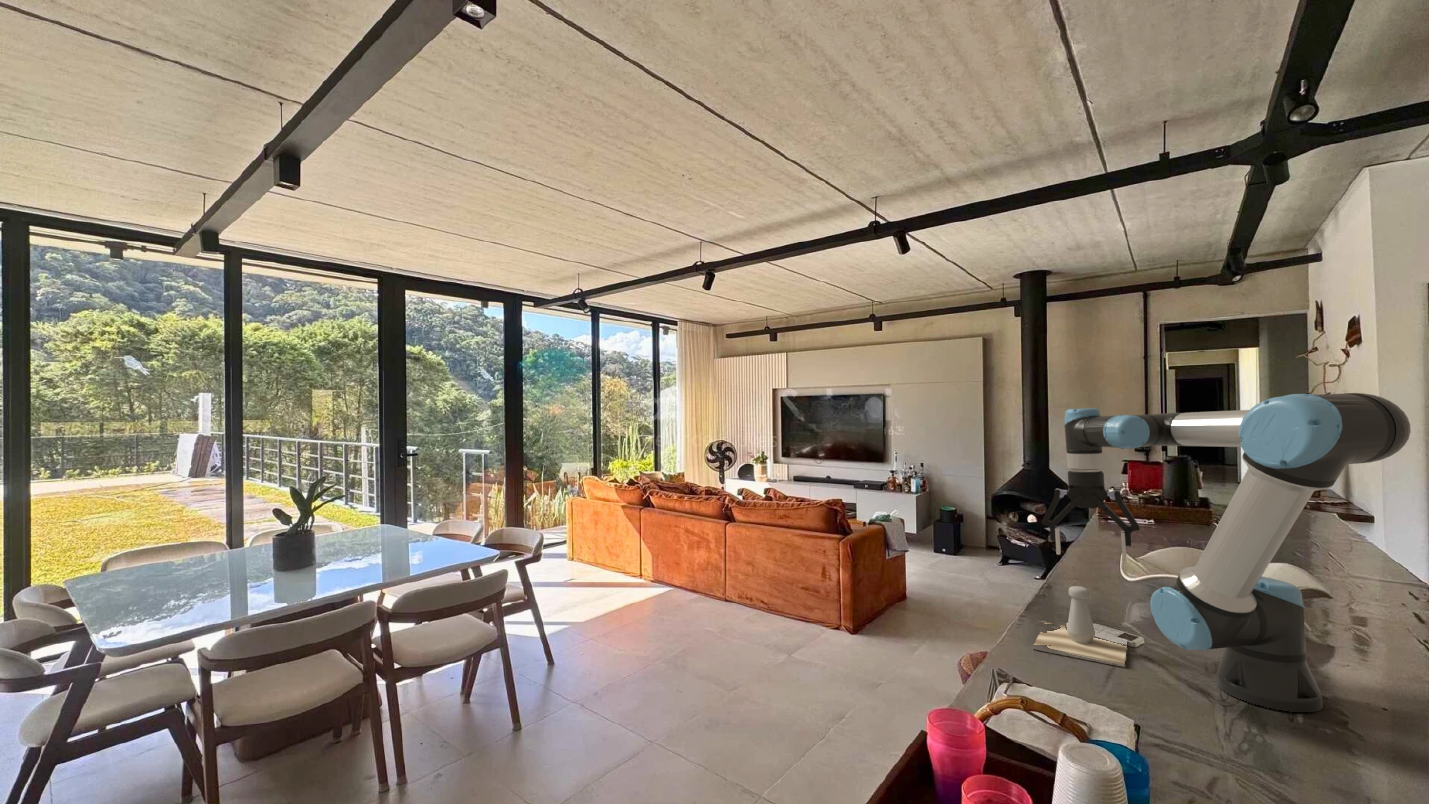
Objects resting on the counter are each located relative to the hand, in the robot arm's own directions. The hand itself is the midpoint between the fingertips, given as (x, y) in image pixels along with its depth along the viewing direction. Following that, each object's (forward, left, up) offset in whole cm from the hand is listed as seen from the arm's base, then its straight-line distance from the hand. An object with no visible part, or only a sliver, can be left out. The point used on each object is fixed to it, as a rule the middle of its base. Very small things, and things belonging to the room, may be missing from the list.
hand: (1090, 556), depth 140 cm
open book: (-3, +3, -22) cm, 22 cm away
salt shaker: (-3, +3, -21) cm, 21 cm away
